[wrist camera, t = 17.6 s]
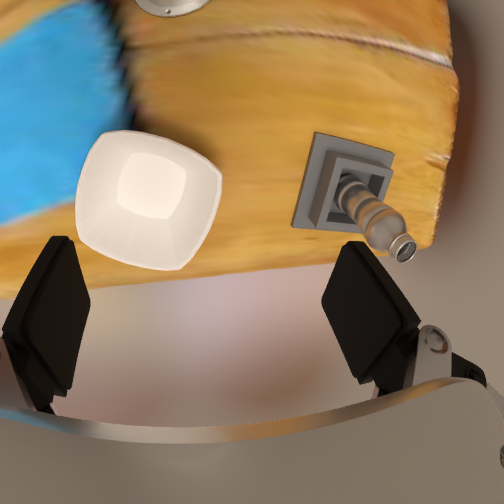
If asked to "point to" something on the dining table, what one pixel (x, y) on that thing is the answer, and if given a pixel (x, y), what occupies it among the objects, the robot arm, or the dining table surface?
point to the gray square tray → (327, 177)
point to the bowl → (146, 199)
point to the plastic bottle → (375, 219)
